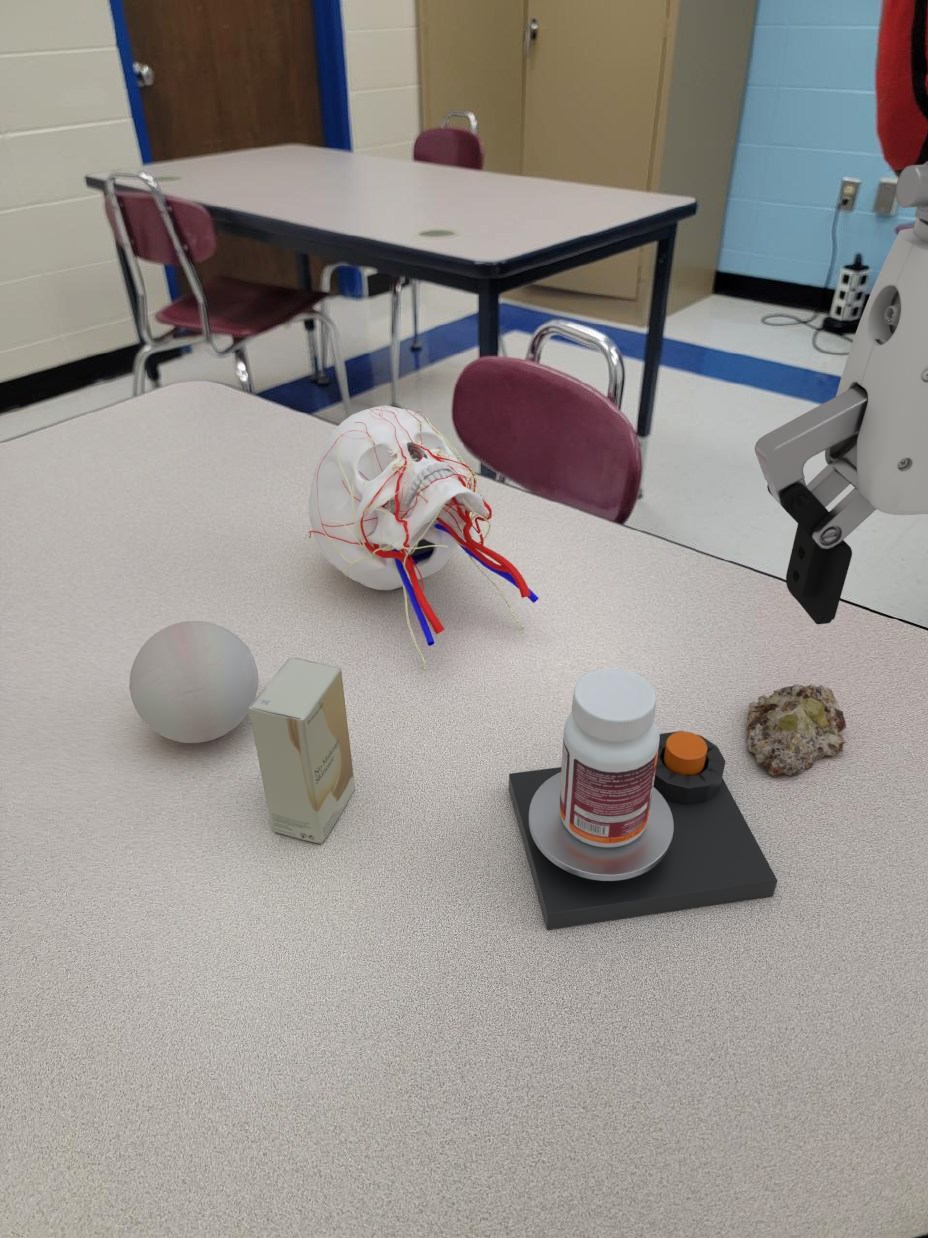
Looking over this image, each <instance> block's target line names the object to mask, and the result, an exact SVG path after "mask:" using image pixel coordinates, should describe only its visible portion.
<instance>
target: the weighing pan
mask: <svg viewBox="0 0 928 1238" xmlns="http://www.w3.org/2000/svg"><path fill="white" fill-rule="evenodd" d="M560 786H561V772H560V773H557V774H556V775H554V776H552V777H551V778H549V779H548V780H547V781H545V782H544V783H543V784H542V785H541V786H540V787H539V789H538V790H537V791H536V793H535V794H534V796H533V798H532V801H531V804H530V809H529V827H530V832H531V835H532V837H533V840H534V842H535V843H536V845H537V847H538V848H539V849H540V851H541V852H542V853H543V854H544V855H545V856H546V857H547V858H548V859H549V860H550V861H551V862H553V863H554V864H555V865H557V866H558V867H560V868H562V869H563V870H565V871H567V872H569V873H572V874H574V875H577V876H580V877H583V878H587V879H592V880H600V881H616V880H624V879H629V878H633V877H636V876H639V875H641V874H643V873H645V872H647V871H649V870H650V869H652V868H653V867H655V866H656V865H657V864H658V863H659V862H660V861H661V860H662V859H663V858H664V856H665V855H666V854H667V852H668V850H669V848H670V845H671V842H672V838H673V831H674V821H673V816H672V813H671V810H670V808H669V806H668V804H667V802H666V800H665V799H664V798H663V796H662V795H661V794H660V793H659V792H658V791H657V790H656V789H655V788H654V787H653V793H652V799H651V806H650V813H649V818H648V823H647V826H646V828H645V830H644V832H643V833H642V834H641V835H640V836H639V837H638V838H637V839H635V840H634V841H632V842H630V843H628V844H626V845H623V846H618V847H597V846H593V845H590V844H587V843H584V842H582V841H580V840H579V839H577V838H576V837H574V836H573V835H572V834H571V833H570V832H569V831H568V830H567V828H566V827H565V825H564V823H563V821H562V819H561V816H560Z"/></svg>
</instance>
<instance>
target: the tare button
mask: <svg viewBox="0 0 928 1238" xmlns="http://www.w3.org/2000/svg"><path fill="white" fill-rule="evenodd" d="M676 732H677V733H674V734H672V735H671V736H669V738H668V739H667V742H666V748H665V754H664V763H665V765H666V766H667V768H668V769H669V770H671V771H672V772H674V773H676V774H680V775H684V776H692V775H696V774H698V773H700V772H701V771H702V770H703V768H704V764H705V759H706V754H707V745H706V742H705V741H704V740H703V739H702V738H701V737H700V736H698V735H699V734H696V733H694V732H690V731H684V732H678V731H676Z"/></svg>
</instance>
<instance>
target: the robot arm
mask: <svg viewBox="0 0 928 1238" xmlns="http://www.w3.org/2000/svg"><path fill="white" fill-rule="evenodd" d="M895 198H896V199H895V201H896V202H897V205H898V206H899V207H901V208H902V209H908V208H916V210H915V213H914V214H915V222H914V224H913V225H914V226H913V227H911V228H905V229H901V230H899V231H898V234H897V236H896V237H895V239H894V242H893V244H892V246H891V248H890V250H889V252H888V254H887V256H886V258H885V260H884V263H883V264H882V267H881V269H880V270H879V274H878V276H877V278H876V280H875V283H874V285H873V287H872V289H871V292H870V294H869V297H868V300H867V302H866V305H865V306H864V309H863V312H862V315H861V316H860V320H859V323H858V325H857V329H856V331H855V334H854V337H853V340H852V343H851V345H850V349H849V352H848V355H847V358H846V361H845V365H844V368H843V370H842V374H841V376H840V381H839V384H838V388H837V392H836V395H835V396H834V397H833V398H830V399H829V400H827V401H825V402H824V403H822V404H820V405H818V406H816V407H814V408H812V409H811V410H808V411H807V412H804V413H803V414H801V415H800V416H797V417H796V418H794V419H792V420H790V421H789V422H786V423H785V424H783V425H781V426H779V427H777V428H775V429H774V430H771V431H770V432H768V433H766V434H764V435H762V436H761V437H760V438H758V440H757V441H756V442H755V445H754V453H755V455H756V458H757V461H758V464H759V467H760V469H761V472H762V476H763V477H764V480H765V481H766V483H767V484H766V485H767V486H766V487H767V491H768V494H770V495H771V496H772V498H773V499H774V500H775V502H777V503H778V504H779V505H780V506H781V507H782V508H783V509H784V511H785V512H786V513H787V514H788V515H789V516H790V517H791V518H792V519H793V520H794V521H795V522H796V523H797V526H796V529H795V535H794V540H793V543H792V548H791V553H790V557H789V561H788V565H787V570H786V575H785V584H786V588H787V590H788V592H789V594H790V595H791V596H792V597H793V598H794V599H795V600H796V602H798V603H799V605H800V606H801V608H803V610H804V611H805V612H806V614H807V615H808V616H809V617H810V619H811V620H812V621H813V622H814V623H815V624H816V625H827V624H830V623H832V621H833V620H835V618H836V615H837V611H838V608H839V604H840V600H841V597H842V593H843V589H844V586H845V583H846V579H847V575H848V571H849V569H850V568H849V567H850V565H851V561H852V558H853V550H852V548H851V546H850V545H849V544H848V543H847V542H846V540H845V539H846V538H847V537H848V536H849V535H850V534H851V533H853V531H855V530H856V529H857V528H858V527H859V526H860V525H861V524H862V523H864V522H865V520H867V519H868V518H869V517H870V516H871V515H872V514H873V513H875V511H876V510H877V511H879V512H882V513H883V514H887V515H893V516H917V515H928V160H927V161H925V162H924V163H923V164H912V165H908V166H905V168H903V170H901V172H900V174H899V176H898V177H897V181H896V184H895ZM822 452H824V459H825V463H826V464H827V465H826V466H825V467H824V468H823V469H822V470H821V471H820V472H819V473H817V474H816V476H815V477H814V478H812V479H811V480H810V481H809V482H808V483H807V482H806V480H805V478H806V477H805V474H804V468H805V464H806V463H807V462H808V461H809V460H811V458H813V457H815V456H817V455H819V454H821V453H822ZM850 485H851V486H852V487H854V488H853V489H852V490H851V491H849V492H848V493H847V494H846V495H845V496H844V497H843V498H841V500H840V501H839V502H838V503H836V505H835V506H834V507H832V508H831V509H830V510H828V509H827V507H828V506H829V505H830V504H831V503H832V502H833V501H834V500H835V499H836V498H838V496H839V495H840V494H842V492H844V491H845V489H846V488H848V487H849V486H850Z"/></svg>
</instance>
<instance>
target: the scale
mask: <svg viewBox="0 0 928 1238" xmlns="http://www.w3.org/2000/svg"><path fill="white" fill-rule="evenodd" d="M677 732H685V731H683V730H679V731H678V730H677V731H671V732H663V733H659V735H660V741H659V749H658V756H657V764H656V771H655V779H654V785H653V787H654V788H655V789H656V790H657V791H658V792H659V793H660V794H661V795H662V796H663V798H664V799H665V800H666V802H667V804H668V806H669V808H670V810H671V813H672V816H673V821H674V831H673V838H672V842H671V845H670V848H669V850H668V852H667V854H666V855H665V856H664V858H663V859H662V860H661V861H660V862H659V863H658V864H657V865H656V866H655V867H653V868H652V869H650V870H649V871H647V872H645V873H643V874H641V875H639V876H636V877H633V878H629V879H624V880H616V881H600V880H592V879H587V878H583V877H580V876H577V875H574V874H572V873H569V872H567V871H565V870H563V869H562V868H560V867H558V866H557V865H555V864H554V863H553V862H551V861H550V860H549V859H548V858H547V857H546V856H545V855H544V854H543V853H542V852H541V851H540V849H539V848H538V847H537V845H536V843H535V842H534V840H533V837H532V835H531V832H530V827H529V809H530V804H531V801H532V798H533V796H534V794H535V793H536V791H537V790H538V789H539V787H540V786H541V785H542V784H543V783H544V782H545V781H547V780H548V779H549V778H551V777H552V776H554V775H556V774H557V773H560V772H561V769H562V766H559V767H558V766H557V767H549V768H543V769H542V768H541V769H536V770H535V769H533V770H528V771H520V772H510V773H509V774H508V792H509V795H510V799H511V802H512V806H513V810H514V813H515V817H516V821H517V825H518V829H519V833H520V836H521V839H522V843H523V848H524V850H525V851H524V852H525V855H526V857H527V863H528V865H529V869H530V873H531V877H532V880H533V884H534V888H535V891H536V896H537V899H538V902H539V906H540V910H541V913H542V917H543V920H544V921H543V922H544V924H545V928H546V930H547V931H549V930H554V929H561V928H567V927H574V926H581V925H589V924H596V923H602V922H606V921H607V922H609V921H616V920H621V919H629V918H636V917H642V916H649V915H655V914H662V913H667V912H675V911H682V910H688V909H694V908H702V907H708V906H714V905H716V906H717V905H722V904H729V903H736V902H742V901H748V900H757V899H762V898H769V897H774V894H775V891H776V888H777V884H778V879H777V877H776V875H775V873H774V871H773V869H772V868H771V865H770V864H769V862H768V860H767V858H766V856H765V854H764V853H763V851H762V849H761V847H760V845H759V843H758V841H757V840H756V838H755V836H754V834H753V832H752V830H751V829H750V826H749V825H748V823H747V821H746V819H745V817H744V815H743V813H742V811H741V810H740V808H739V806H738V804H737V803H736V800H735V798H734V796H733V795H732V793H731V791H730V789H729V787H728V786H727V783H726V782H725V780H724V778H723V777H724V771H725V767H726V759H725V758H724V756H723V753H722V752H721V749H720V748H719V747H718V745H716V744H714V743H713V742H712V741H710V740H709V739H707V738H705V737H704V736H702V735H700V734H697V735H698V736H700V737H701V738H702V739H703V740H704V741H705V742H706V745H707V754H706V759H705V764H704V768H703V770H702V771H701V772H700V773H698V774H696V775H692V776H684V775H680V774H676V773H674V772H672V771H671V770H669V769H668V768H667V766H666V765H665V763H664V754H665V748H666V742H667V739H668V738H669V736H671V735H672V734H674V733H677Z"/></svg>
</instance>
